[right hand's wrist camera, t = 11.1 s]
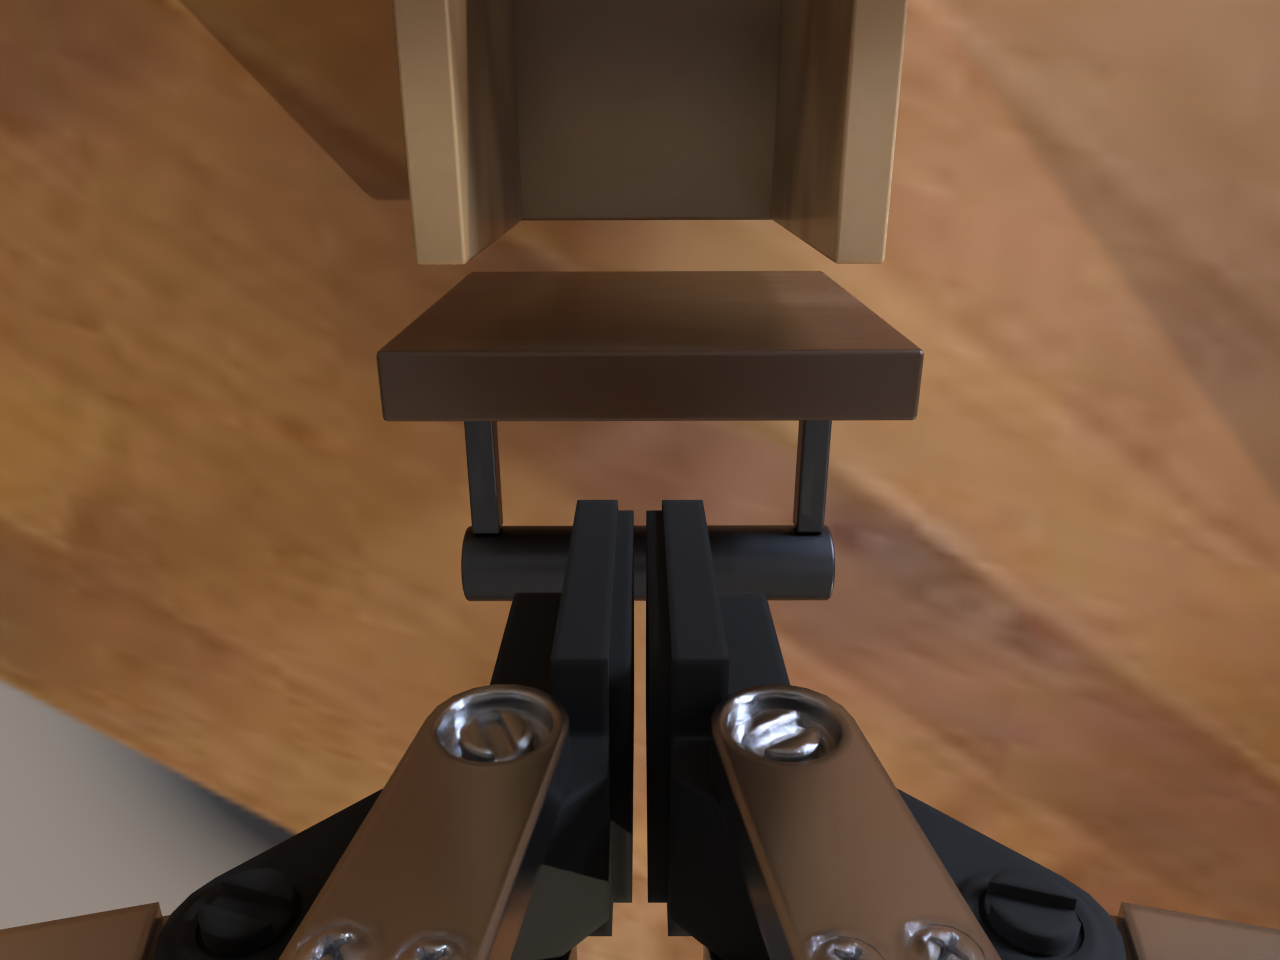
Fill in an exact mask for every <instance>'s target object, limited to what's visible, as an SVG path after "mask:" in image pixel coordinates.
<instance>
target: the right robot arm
mask: <svg viewBox="0 0 1280 960" xmlns="http://www.w3.org/2000/svg"><path fill="white" fill-rule="evenodd" d="M633 758H634V511H618V500H578V501H577V505H576V511H575V517H574V523H573V529H572V535H571V541H570V547H569V553H568V559H567V564H566V570H565V576H564V582H563V588H562V593H515V595H514V598H513V601H512V605H511V609H510V613H509V616H508V620H507V624H506V627H505V631H504V635H503V638H502V642H501V646H500V649H499V653H498V657H497V661H496V664H495V668H494V672H493V675H492V679H491V683H490V685H489V686H483V687H478V688H473V689H470V690H467V691H465V692H462V693H459V694H457V695H454V696H452V697H451V698H449V699H448V700H446V701H445V702H443V703H441V704H440V705H438V706H437V707H436V708H435V709H434V710H433V712H432V713H431V714H430V715H429V716H428V717H427V718H426V720H425V721H424V723H423V725H422V726H421V728H420V730H419V731H418V733H417V735H416V736H415V738H414V739H413V741H412V743H411V744H410V746H409V748H408V749H407V751H406V752H405V754H404V756H403V757H402V759H401V761H400V762H399V764H398V766H397V767H396V769H395V770H394V772H393V774H392V775H391V777H390V779H389V780H388V782H387V783H386V785H385V787H384V788H383V789H381V790H379V791H377V792H376V793H374V794H372V795H370V796H368V797H366V798H364V799H362V800H361V801H359V802H357V803H355V804H353V805H351V806H349V807H347V808H346V809H344V810H342V811H340V812H338V813H336V814H334V815H332V816H331V817H329V818H327V819H325V820H323V821H321V822H319V823H317V824H316V825H314V826H312V827H310V828H308V829H306V830H304V831H302V832H301V833H299V834H297V835H295V836H293V837H291V838H289V839H287V840H286V841H284V842H282V843H280V844H278V845H276V846H274V847H272V848H271V849H269V850H267V851H265V852H263V853H261V854H259V855H257V856H256V857H254V858H252V859H250V860H248V861H246V862H244V863H242V864H241V865H239V866H237V867H235V868H233V869H231V870H229V871H227V872H226V873H224V874H222V875H220V876H218V877H216V878H215V879H213V880H212V881H210V882H209V883H207V884H206V885H204V886H202V887H201V888H199V889H198V890H196V891H195V892H194V893H192V894H191V895H190V896H189V897H188V898H187V899H186V900H185V901H184V902H183V903H182V904H181V905H180V906H179V907H178V908H177V909H176V910H175V911H174V912H173V913H172V914H171V915H168V916H162V914H161V910H160V905H159V902H156V903H151V904H145V905H139V906H133V907H128V908H122V909H117V910H111V911H105V912H99V913H93V914H88V915H82V916H76V917H71V918H65V919H59V920H53V921H48V922H42V923H36V924H31V925H25V926H19V927H13V928H8V929H2V930H0V960H577V944H578V943H580V942H581V941H582V940H583V939H585V938H586V937H587V936H612V915H613V903H632V854H633ZM646 758H647V854H648V903H667V915H668V936H693V937H694V938H695V939H697V940H698V941H699V942H700V943H702V944H703V960H1280V930H1278V929H1272V928H1267V927H1261V926H1255V925H1249V924H1244V923H1238V922H1232V921H1227V920H1221V919H1215V918H1209V917H1204V916H1198V915H1192V914H1187V913H1181V912H1175V911H1169V910H1164V909H1158V908H1152V907H1147V906H1141V905H1135V904H1129V903H1124V902H1121V905H1120V910H1119V914H1118V916H1112V915H1109V914H1108V913H1107V912H1106V911H1105V910H1104V909H1103V908H1102V907H1101V906H1100V905H1099V904H1098V903H1097V902H1096V901H1095V900H1094V899H1093V898H1092V897H1091V896H1090V895H1089V894H1088V893H1087V892H1085V891H1084V890H1082V889H1081V888H1079V887H1078V886H1076V885H1074V884H1073V883H1071V882H1070V881H1068V880H1067V879H1065V878H1064V877H1062V876H1060V875H1058V874H1056V873H1054V872H1053V871H1051V870H1049V869H1047V868H1045V867H1043V866H1041V865H1039V864H1038V863H1036V862H1034V861H1032V860H1030V859H1028V858H1026V857H1024V856H1023V855H1021V854H1019V853H1017V852H1015V851H1013V850H1011V849H1009V848H1008V847H1006V846H1004V845H1002V844H1000V843H998V842H996V841H994V840H993V839H991V838H989V837H987V836H985V835H983V834H981V833H979V832H978V831H976V830H974V829H972V828H970V827H968V826H966V825H964V824H963V823H961V822H959V821H957V820H955V819H953V818H951V817H949V816H948V815H946V814H944V813H942V812H940V811H938V810H936V809H934V808H933V807H931V806H929V805H927V804H925V803H923V802H921V801H919V800H918V799H916V798H914V797H912V796H910V795H908V794H906V793H904V792H903V791H901V790H899V789H897V788H896V787H895V785H894V783H893V782H892V780H891V779H890V777H889V775H888V774H887V772H886V770H885V769H884V767H883V766H882V764H881V762H880V761H879V759H878V757H877V756H876V754H875V752H874V751H873V749H872V748H871V746H870V744H869V743H868V741H867V739H866V738H865V736H864V735H863V733H862V731H861V730H860V728H859V726H858V725H857V723H856V721H855V720H854V718H853V717H852V716H851V715H850V714H849V713H848V712H847V711H846V709H845V708H844V707H843V706H842V705H840V704H839V703H837V702H835V701H834V700H832V699H831V698H829V697H828V696H826V695H823V694H821V693H818V692H815V691H813V690H810V689H807V688H802V687H797V686H791V685H790V683H789V679H788V675H787V672H786V668H785V664H784V661H783V657H782V653H781V649H780V646H779V642H778V638H777V635H776V631H775V627H774V624H773V620H772V616H771V613H770V609H769V605H768V601H767V598H766V595H765V593H718V588H717V582H716V576H715V570H714V564H713V559H712V553H711V547H710V541H709V535H708V529H707V523H706V517H705V511H704V505H703V501H702V500H662V511H646Z"/></svg>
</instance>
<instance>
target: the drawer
mask: <svg viewBox="0 0 1280 960" xmlns="http://www.w3.org/2000/svg"><path fill="white" fill-rule="evenodd" d="M392 2H393V13H394V24H395V35H396V47H397V58H398V69H399V80H400V91H401V103H402V114H403V125H404V136H405V147H406V159H407V170H408V181H409V192H410V203H411V215H412V226H413V237H414V248H415V259H416V263H417V264H419V265H463V264H465V263H467V262H468V261H469V260H471V259H472V258H473V257H475V256H476V255H477V254H478V253H480V252H481V251H482V250H484V249H485V248H486V247H488V246H489V245H490V244H491V243H493V242H494V241H495V240H497V239H498V238H499V237H501V236H502V235H503V234H504V233H506V232H507V231H508V230H510V229H511V228H512V227H514V226H515V225H516V224H517V223H519V222H520V221H521V220H774V221H775V222H776V223H778V224H779V225H781V226H782V227H784V228H785V229H787V230H788V231H790V232H791V233H793V234H794V235H795V236H797V237H798V238H800V239H801V240H803V241H804V242H806V243H807V244H809V245H810V246H812V247H813V248H814V249H816V250H817V251H819V252H820V253H822V254H823V255H825V256H826V257H828V258H829V259H831V260H832V261H833V262H835V263H837V264H877V263H882V262H883V261H884V257H885V247H886V236H887V225H888V214H889V203H890V192H891V181H892V170H893V159H894V149H895V138H896V127H897V116H898V105H899V94H900V83H901V72H902V61H903V51H904V40H905V29H906V18H907V7H908V0H392ZM376 358H377V367H378V377H379V386H380V395H381V404H382V414H383V418H384V420H386V421H464V427H465V440H466V454H467V467H468V480H469V494H470V507H471V520H472V526H470V527H468V528H467V530H466V532H465V535H464V540H463V546H462V559H461V574H462V585H463V591H464V594H465V597H466V599H467V600H469V601H513V598H514V595H515V593H562V588H563V582H564V576H565V570H566V564H567V559H568V553H569V547H570V541H571V535H572V529H573V526H502V524H503V516H502V500H501V483H500V467H499V451H498V435H497V421H756V420H799V432H798V448H797V464H796V480H795V496H794V512H793V523H794V525H728V526H707V529H708V535H709V541H710V547H711V553H712V559H713V564H714V570H715V576H716V582H717V588H718V593H765V595H766V598H767V600H828V599H829V598H830V597H831V594H832V591H833V587H834V578H835V554H834V545H833V539H832V535H831V532H830V529H829V528H828V527H827V526H825V525H824V516H825V503H826V490H827V477H828V464H829V451H830V437H831V424H832V420H913V419H916V416H917V412H918V403H919V394H920V385H921V376H922V367H923V358H924V353H923V350H921V349H920V348H919V347H917V346H916V345H915V344H914V343H912V342H911V341H910V340H909V339H907V338H906V337H905V336H903V335H902V334H901V333H900V332H898V331H897V330H896V329H895V328H893V327H892V326H891V325H889V324H888V323H887V322H886V321H884V320H883V319H882V318H880V317H879V316H878V315H877V314H875V313H874V312H873V311H872V310H870V309H869V308H868V307H866V306H865V305H864V304H863V303H861V302H860V301H859V300H858V299H856V298H855V297H854V296H852V295H851V294H850V293H849V292H847V291H846V290H845V289H843V288H842V287H841V286H840V285H838V284H837V283H836V282H835V281H833V280H832V279H831V278H829V277H828V276H827V275H826V274H824V273H823V272H821V271H668V272H472V273H470V274H469V275H468V276H466V277H465V278H464V279H463V280H462V281H461V282H459V283H458V284H457V285H456V286H455V287H453V288H452V289H451V290H450V291H449V292H448V293H446V294H445V295H444V296H443V297H442V298H440V299H439V300H438V301H437V302H436V303H435V304H433V305H432V306H431V307H430V308H429V309H428V310H426V311H425V312H424V313H423V314H422V315H420V316H419V317H418V318H417V319H416V320H415V321H413V322H412V323H411V324H410V325H409V326H407V327H406V328H405V329H404V330H403V331H402V332H400V333H399V334H398V335H397V336H396V337H394V338H393V339H392V340H391V341H390V342H389V343H387V344H386V345H385V346H384V347H383V348H381V349H380V350H379V351H378V352H377V355H376ZM634 601H646V526H634Z"/></svg>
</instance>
